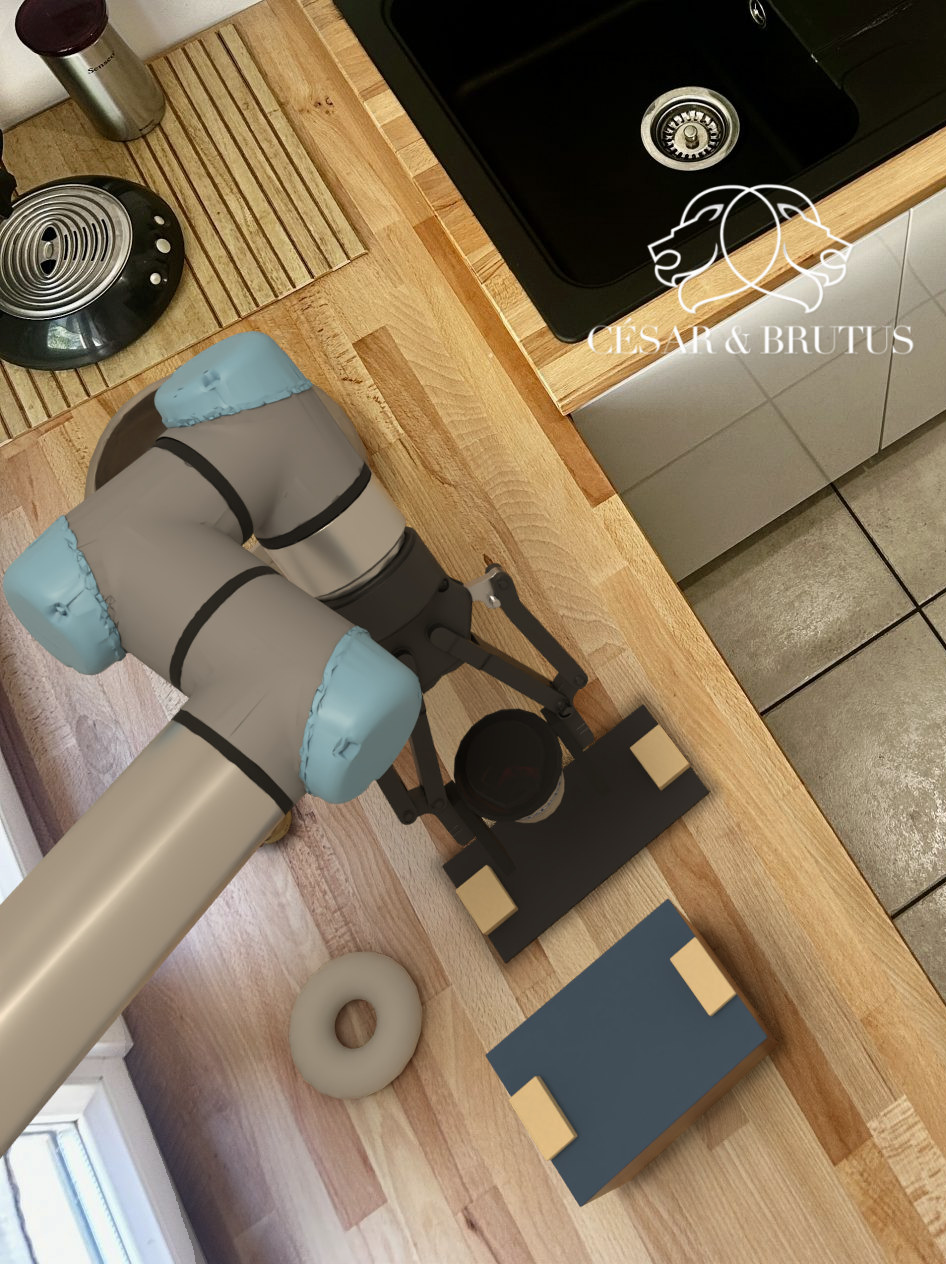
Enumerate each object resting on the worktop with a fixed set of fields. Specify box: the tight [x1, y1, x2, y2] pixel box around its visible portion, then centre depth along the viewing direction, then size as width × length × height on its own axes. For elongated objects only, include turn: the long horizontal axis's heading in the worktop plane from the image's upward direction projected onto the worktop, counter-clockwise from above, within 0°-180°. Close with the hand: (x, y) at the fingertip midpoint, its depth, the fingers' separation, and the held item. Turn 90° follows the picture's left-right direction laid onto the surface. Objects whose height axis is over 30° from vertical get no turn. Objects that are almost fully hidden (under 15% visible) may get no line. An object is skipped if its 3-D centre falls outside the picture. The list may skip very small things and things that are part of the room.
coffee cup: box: [453, 707, 564, 823], centre depth 97 cm, size 7×7×10 cm
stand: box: [582, 902, 780, 1207], centre depth 101 cm, size 14×10×24 cm
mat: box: [442, 703, 710, 964], centre depth 118 cm, size 20×9×2 cm, turn 129°
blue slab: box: [485, 898, 767, 1208], centre depth 89 cm, size 14×10×2 cm
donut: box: [288, 950, 423, 1101], centre depth 112 cm, size 10×4×10 cm
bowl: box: [83, 364, 371, 579], centre depth 126 cm, size 23×23×15 cm
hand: (553, 823), depth 97 cm, fingers closed on coffee cup, 7 cm apart
